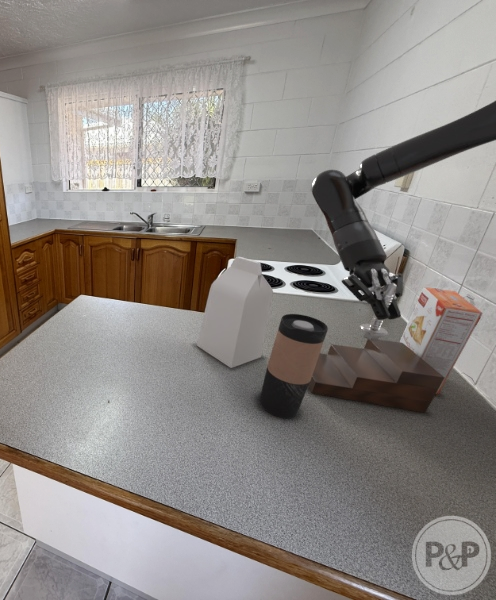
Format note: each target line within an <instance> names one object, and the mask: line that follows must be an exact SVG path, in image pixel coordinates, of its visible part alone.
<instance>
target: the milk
mask: <svg viewBox="0 0 496 600" xmlns="http://www.w3.org/2000/svg"><path fill="white" fill-rule="evenodd" d="M273 298H274V290H273V288H272V286H271V285H270V283H269V282H268V281H267V279H266V278H265V276H264V275H263V271H262V264H261V262H260V261H258V260H255V259H254V260H253V259H250V258H246V257H243V256H236V257H235V258H234V260H233V261H232V262H231V264H230V266H229V267H228V268H226V269H225V271H223V272H222V273H221V274H220V275H219V276H218V277H216V279H214V280H213V282H212V283H211V285H210V288H209V292H208V295H207V300H206V305H205V309H204V313H203V317H202V322H201V325H200V330H199V334H198V339H197V343H196V346H197V347H198V348H199V349H201V350H203V351H204V352H206V353H207V354H209V355H210V356H212V357H213V358H215V359H216V360H218V361H220V362H221V363H222V364H224V365H225V366H227V367H229V368H230V369H232V368H236V367H238V366H240V365H244V364H246V363H249V362H251V361H254V360H257V359H260V358H262V355H263V349H264V345H265V341H266V340H265V339H266V335H267V330H268V324H269V319H270V314H271V308H272V303H273Z"/></svg>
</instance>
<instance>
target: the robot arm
mask: <svg viewBox="0 0 496 600" xmlns="http://www.w3.org/2000/svg"><path fill="white" fill-rule="evenodd" d="M494 141H495V142H496V100H494V101H492V102H490V103H488V104H487V105H485V106H483V107H480V108H479V109H476V110H475V111H472V112H471V113H469V114H466V115H464V116H462V117H460V118H458V119H456V120H453V121H451V122H449V123H446V124H444V125H442V126H438V127H437V128H434V129H431V130H429V131H426V132H423V133H421V134H418V135H416V136H413V137H411V138H409V139H406V140H403V141H401V142H399V143H397V144H394V145H392V146H389V147H388V148H385V149H383V150H381V151H379V152H376V153H375V154H373V155H370V156H369V157H367V158H364V159H363V160H362V161H361V162H360V164H359V167H358V169H356V170H355V171H353V172H352V173H349V174H348V175H346V174H345V173H343V171H341V170H338V169H327V170H324V171H322V172H320V173H318V175H316V176H315V178H314V179H313V181H312V183H311V189H310V191H311V194H312V196H313V198H314V201H315V202H316V204H317V206H318V208H319V209H320V210H321V212H322V214H323V217H324V218H325V221H326V223H327V224H326V225H327V227H328V230H329V232H330V234H331V237H332V239H333V244H334V248H335V250H336V252H337V254H338V257H339V259H340V262H341V264H342V267H343V268H344V271H347V272H348V273H349V275H348V276H347V277H345V278H343V279H341V283H342V285H344V287H346V289H347V290H348V291H349V292H350V293H351V294H352V295H353V296H354V297H355V298H356V299H357V300H358V301H359V302H366V303H367V304H369V305H370V306H371V307H370V308H371V309H372V311H373V315H375V316H376V317H377V319H378V320H383V321H384V320H386V319H387V320H396V319H398V318H401V317H402V313H401V310H400V308H399V306H398V304H397V301H396V300H397V298H401V297H402V296H403V291H404V290H403V289H404V288H403V287H404V275H403V273H401V272H400V273H399V272H398V273H396V274H395V273H392V272H390V269H389V268H388V267H387V266H386V264H385V261H386V260H387V258H388V256H387V254H386V252H385V249H384V248H383V245H382V244H381V241H380V239H379V237H378V234H377V233H376V231H375V228H374V227H372V225H371V224H370V222H369V220H368V218H367V216H366V213H365V212H364V210H363V208H362V207H361V205H360V204H359V203H358V202H357V200H356V199H358V198H360V197H362V196H363V195H367V194H368V193H369V192H371V191H372V190H374V189H375V188H377V187H379V186H383V185H385V184H387V183H390V182H393V181H396V180H398V179H400V178H404V177H406V176H408V175H409V174H413V173H416V172H418V171H420V170H423V169H425V168H428V167H430V166H433V165H434V164H437V163H439V162H442V161H444V160H446V159H450V157H454V156H456V155H459V154H462V153H464V152H466V151H469V150H472V149H474V148H478V147H480V146H483V145H486V144H489V143H492V142H494ZM390 283H394V284H395V285H397V286H396V288H395V291H394V293H393V295H394V296H393V297H392V298H393V299H391V300H392V302H390V303H391V304H390V305H389V306H390V307H388V309H387V306H386V304H385V302H384V300H382V296H383V295H384V293H385V291H386V288H387V286H388V284H390Z"/></svg>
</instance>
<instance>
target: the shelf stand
mask: <svg viewBox="0 0 496 600" xmlns="http://www.w3.org/2000/svg"><path fill="white" fill-rule="evenodd" d="M444 378H445V377H443V376H442V375H441V374H440V373H439V372H437V371H436V370H435V369H434V368H433V367H431V366H430V365H429V364H428V363H426V362H425V361H424V360H423V359H422V358H420V357H419V356H418V355H417V354H416V353H414V352H413V351H412V350H411V349H409V348H408V347H407V346H406V345H405V344H403V343H401V342H400V341H392V340H386V339H385V340H384V339H378V340H377V341H376V340H369V339H366V342H365V344H364V347H363V348H361V347H353V346H347V345H340V344H334V343H333V344H332V343H330V346H329V349H328V352H327V353H321V352H320V354H319V357H318V360H317V363H316V366H315V369H314V372H313V375H312V378H311V380H310V383H309V386H308V389H309V390H310V392H311V394H315V395H322V396H327V397H334V398H338V399H343V400H350V401H355V402H360V403H367V404H372V405H379V406H384V407H391V408H396V409H403V410H407V411H414V412H418V413H424V414H425V413H426V412H427V410H428V409H429V406H430V405H431V403H432V402H433V400H434V398H435V396H436V395H437V394H436V393H437V391H438V389H439V387H440V385H441V383H442V382H443V380H444Z"/></svg>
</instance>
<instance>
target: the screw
mask: <svg viewBox="0 0 496 600" xmlns="http://www.w3.org/2000/svg"><path fill="white" fill-rule="evenodd" d="M396 286H397V285H395V284H394V283H390V284H388V286H387V288H386V291H385V292H384V295H383V296H382V300H384V302H385V304H386V306H387V309H388V307H390V306H389V305H390V304H391V303H390V302H392V300H391V299H393V298H392V297H393V296H394V295H393V293H394V292H395V288H396ZM383 322H384V320H378V319H377V317H376V316H375V314H373V316H372V319H371V321H370V323H362V324H360V325H359V326H358V328H359V330H360V331H362V332H363V334H362V337H363V338H365V339H366V340H368V339H369V340H376V341H377V340H379V338H380V337H387V336H388V334H389V332H388V331H387V329H386V328H384V327H382V325H383Z"/></svg>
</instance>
